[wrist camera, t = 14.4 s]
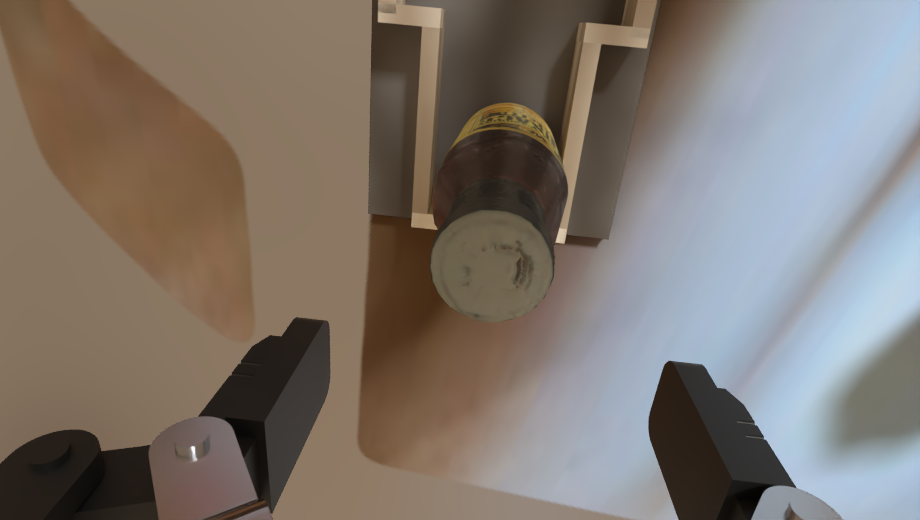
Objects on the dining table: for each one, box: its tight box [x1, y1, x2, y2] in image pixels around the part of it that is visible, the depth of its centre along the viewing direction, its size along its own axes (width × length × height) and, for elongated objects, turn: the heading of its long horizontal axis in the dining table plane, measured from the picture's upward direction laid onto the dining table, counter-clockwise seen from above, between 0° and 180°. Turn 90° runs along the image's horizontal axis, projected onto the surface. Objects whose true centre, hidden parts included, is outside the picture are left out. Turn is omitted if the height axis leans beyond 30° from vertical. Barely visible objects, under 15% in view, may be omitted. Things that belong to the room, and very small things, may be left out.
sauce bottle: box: [430, 103, 568, 323], centre depth 26 cm, size 7×6×20 cm
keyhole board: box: [368, 0, 661, 244], centre depth 31 cm, size 17×25×4 cm
